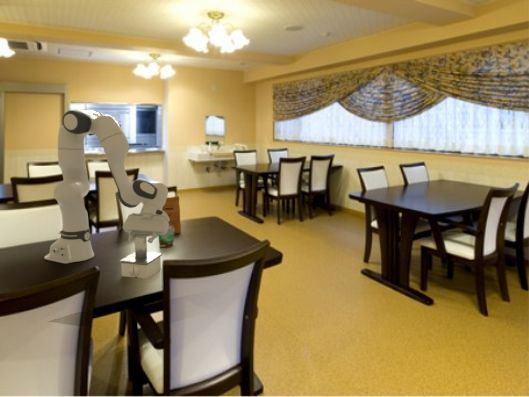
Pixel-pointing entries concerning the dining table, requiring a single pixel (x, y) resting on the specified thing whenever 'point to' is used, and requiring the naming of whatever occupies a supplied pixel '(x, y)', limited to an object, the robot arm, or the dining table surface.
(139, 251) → the steel weight
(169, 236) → the food container
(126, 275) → the scale
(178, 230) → the coffee package
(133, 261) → the pan
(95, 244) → the dining table surface
